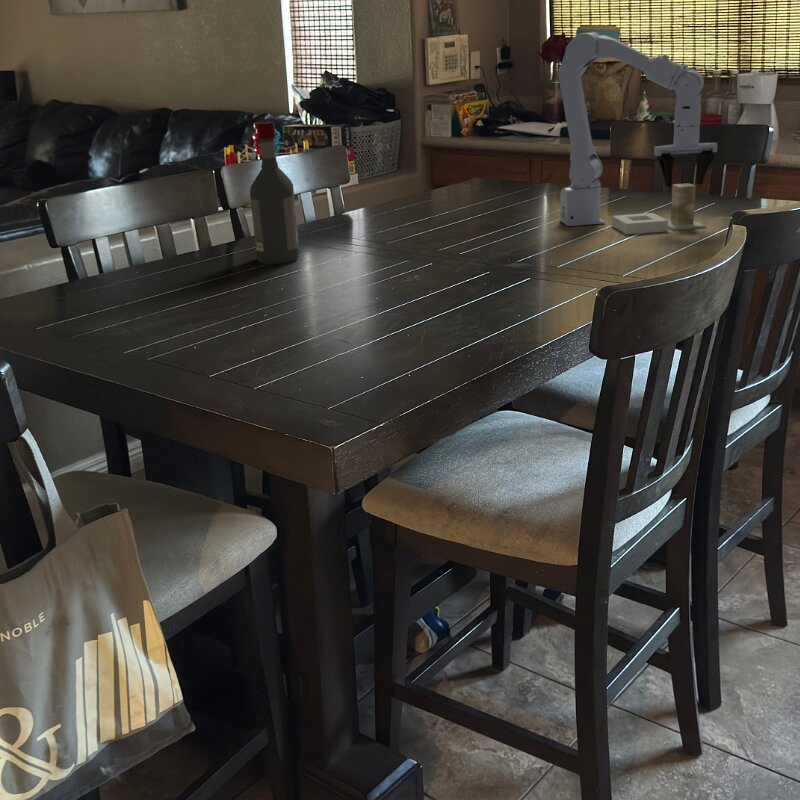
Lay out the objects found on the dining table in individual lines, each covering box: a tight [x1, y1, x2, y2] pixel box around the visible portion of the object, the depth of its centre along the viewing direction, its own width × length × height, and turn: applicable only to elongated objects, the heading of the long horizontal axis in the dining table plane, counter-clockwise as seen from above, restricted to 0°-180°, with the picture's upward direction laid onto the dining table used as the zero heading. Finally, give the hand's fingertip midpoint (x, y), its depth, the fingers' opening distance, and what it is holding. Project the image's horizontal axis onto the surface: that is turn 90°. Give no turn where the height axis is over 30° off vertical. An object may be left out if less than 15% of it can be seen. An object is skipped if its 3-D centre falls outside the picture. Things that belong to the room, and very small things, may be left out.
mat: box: [667, 219, 707, 231], centre depth 236 cm, size 8×9×1 cm
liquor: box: [249, 121, 300, 265], centre depth 219 cm, size 9×9×30 cm
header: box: [611, 212, 669, 235], centre depth 235 cm, size 10×10×2 cm
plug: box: [670, 182, 697, 225], centre depth 234 cm, size 4×4×9 cm
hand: (683, 185), depth 233 cm, fingers open, 7 cm apart
